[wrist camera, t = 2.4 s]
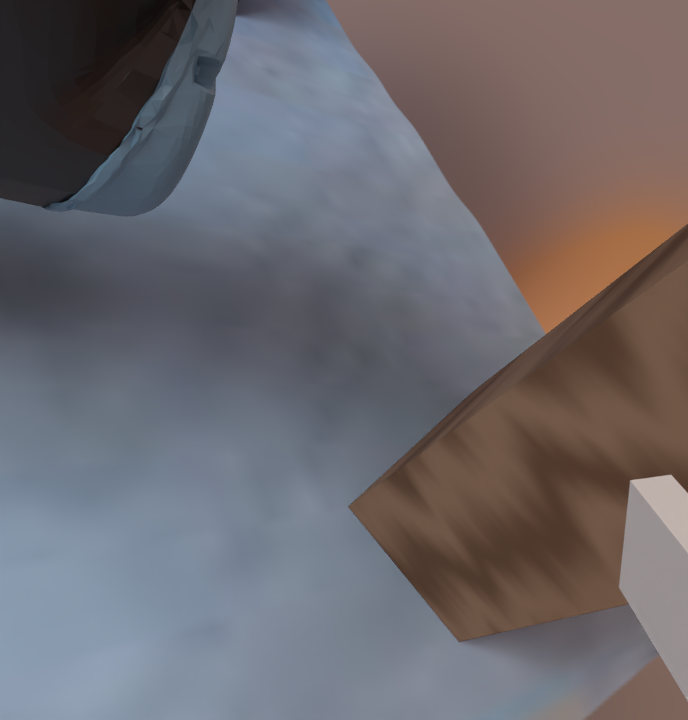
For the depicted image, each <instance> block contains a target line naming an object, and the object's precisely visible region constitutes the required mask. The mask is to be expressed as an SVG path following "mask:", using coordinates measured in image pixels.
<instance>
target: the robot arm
mask: <svg viewBox="0 0 688 720" xmlns="http://www.w3.org/2000/svg"><path fill="white" fill-rule="evenodd" d="M237 4H238V0H0V198H3V199H7V200H12V201H17V202H22V203H27V204H31V205H36V206H41V207H43V208H44V209H46V210H50V211H57V212H60V211H67V210H71V209H74V210H81V211H88V212H96V213H103V214H110V215H117V216H136V215H140V214H144V213H146V212H149V211H151V210H153V209H154V208H156V207H157V206H159V205H160V204H161V203H162V202H163V201H164V200H165V199H166V198H167V197H168V196H169V195H170V194H171V193H172V191H173V190H174V189H175V187H176V186H177V184H178V183H179V181H180V180H181V178H182V176H183V174H184V173H185V171H186V169H187V167H188V165H189V163H190V161H191V159H192V157H193V155H194V152H195V150H196V148H197V145H198V143H199V141H200V138H201V136H202V134H203V131H204V128H205V126H206V123H207V120H208V117H209V115H210V112H211V108H212V105H213V102H214V98H215V86H216V76H217V75H218V74H219V72H220V70H221V67H222V65H223V63H224V61H225V58H226V55H227V51H228V48H229V45H230V41H231V37H232V32H233V28H234V22H235V17H236V12H237ZM619 588H620V590H621V592H622V593H623V595H624V597H625V598H626V600H627V602H628V603H629V605H630V607H631V608H632V610H633V612H634V613H635V615H636V617H637V618H638V620H639V622H640V623H641V625H642V626H643V628H644V630H645V631H646V633H647V635H648V636H649V638H650V640H651V641H652V643H653V645H654V646H655V648H656V650H657V651H658V653H659V655H660V656H661V658H662V660H663V661H664V663H665V664H666V666H667V668H668V670H669V671H670V673H671V675H672V676H673V678H674V680H675V681H676V683H677V684H678V686H679V688H680V689H681V691H682V693H683V694H684V696H685V698H686V699H687V701H688V493H687V492H686V491H685V490H684V488H683V487H682V486H681V485H680V484H679V483H678V482H677V481H676V480H675V478H674V477H673V476H672V475H666V476H658V477H651V478H643V479H636V480H630V487H629V496H628V506H627V515H626V525H625V534H624V543H623V553H622V562H621V572H620V581H619Z"/></svg>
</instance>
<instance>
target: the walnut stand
mask: <svg viewBox="0 0 688 720" xmlns="http://www.w3.org/2000/svg"><path fill="white" fill-rule="evenodd" d="M666 475H672V476H673V477H674V478H675V480H676V481H677V482H678V483H679V484H680V485H681V486H682V487H683V488H684V490H685V491H686V492H687V493H688V224H687V225H686V226H684V227H683V228H682V229H681V230H679V231H678V232H677V233H675V234H674V235H673V236H671V237H670V238H669V239H668V240H666V241H665V242H664V243H663V244H661V245H660V246H659V247H657V248H656V249H655V250H654V251H652V252H651V253H650V254H648V255H647V256H646V257H645V258H643V259H642V260H641V261H639V262H638V263H637V264H636V265H634V266H633V267H632V268H631V269H629V270H628V271H627V272H625V273H624V274H623V275H622V276H620V277H619V278H618V279H616V280H615V281H614V282H613V283H611V284H610V285H609V286H607V287H606V288H605V289H604V290H602V291H601V292H600V293H599V294H597V295H596V296H595V297H593V298H592V299H591V300H590V301H588V302H587V303H586V304H585V305H583V306H582V307H581V308H579V309H578V310H577V311H576V312H574V313H573V314H572V315H570V316H569V317H568V318H567V319H565V320H564V321H563V322H561V323H560V324H559V325H558V326H556V327H555V328H554V329H552V330H551V331H550V332H549V333H547V334H546V335H545V336H543V337H542V338H541V339H540V340H538V341H537V342H536V343H534V344H533V345H532V346H531V347H529V348H528V349H527V350H525V351H524V352H523V353H522V354H520V355H519V356H518V357H517V358H515V359H514V360H513V361H511V362H510V363H509V364H508V365H506V366H505V367H504V368H502V369H501V370H500V371H499V372H497V373H496V374H495V375H493V376H492V377H491V378H490V379H488V380H487V381H486V382H485V383H483V384H482V385H481V386H479V387H478V388H477V389H476V390H474V391H473V392H472V393H471V394H470V395H469V396H468V397H467V398H466V399H465V400H463V401H462V402H461V403H460V404H459V405H458V406H457V407H456V408H455V409H454V410H453V411H452V412H450V413H449V414H448V415H447V416H446V417H445V418H444V419H443V420H442V421H441V422H440V423H439V424H437V425H436V426H435V427H434V428H433V429H432V430H431V431H430V432H429V433H428V434H427V435H425V436H424V437H423V438H422V439H421V440H420V441H419V442H418V443H417V444H416V445H415V446H414V447H412V448H411V449H410V450H409V451H408V452H407V453H406V454H405V455H404V456H403V457H402V458H401V459H399V460H398V461H397V462H396V463H395V464H394V465H393V466H392V467H391V468H390V469H389V470H387V471H386V472H385V473H384V474H383V475H382V476H381V477H380V478H379V479H378V480H377V481H376V482H374V483H373V484H372V485H371V486H370V487H369V488H368V489H367V490H366V491H365V492H364V493H363V494H361V495H360V496H359V497H358V498H357V499H356V500H355V501H354V502H353V503H352V504H351V505H349V506H348V507H349V508H350V509H351V510H352V512H353V513H354V514H355V515H356V517H357V518H358V519H359V520H360V521H361V523H362V524H363V525H364V526H365V528H366V529H367V530H368V531H369V532H370V534H371V535H372V536H373V537H374V539H375V540H376V541H377V542H378V543H379V545H380V546H381V547H382V548H383V550H384V551H385V552H386V553H387V554H388V556H389V557H390V558H391V559H392V561H393V562H394V563H395V564H396V565H397V567H398V568H399V569H400V570H401V572H402V573H403V574H404V575H405V576H406V578H407V579H408V580H409V581H410V583H411V584H412V585H413V586H414V587H415V589H416V590H417V591H418V592H419V594H420V595H421V596H422V597H423V598H424V600H425V601H426V602H427V603H428V605H429V606H430V607H431V608H432V609H433V611H434V612H435V613H436V614H437V616H438V617H439V618H440V619H441V620H442V622H443V623H444V624H445V625H446V627H447V628H448V629H449V630H450V631H451V633H452V634H453V635H454V636H455V638H456V639H457V640H458V641H459V642H460V641H464V640H469V639H473V638H478V637H482V636H487V635H491V634H496V633H500V632H505V631H509V630H514V629H518V628H523V627H527V626H532V625H536V624H541V623H545V622H550V621H554V620H559V619H563V618H568V617H572V616H577V615H581V614H586V613H590V612H595V611H599V610H604V609H608V608H613V607H617V606H622V605H626V604H629V603H628V602H627V600H626V598H625V597H624V595H623V593H622V592H621V590H620V588H619V581H620V572H621V562H622V553H623V543H624V534H625V525H626V515H627V506H628V496H629V487H630V480H636V479H643V478H651V477H658V476H666Z"/></svg>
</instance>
